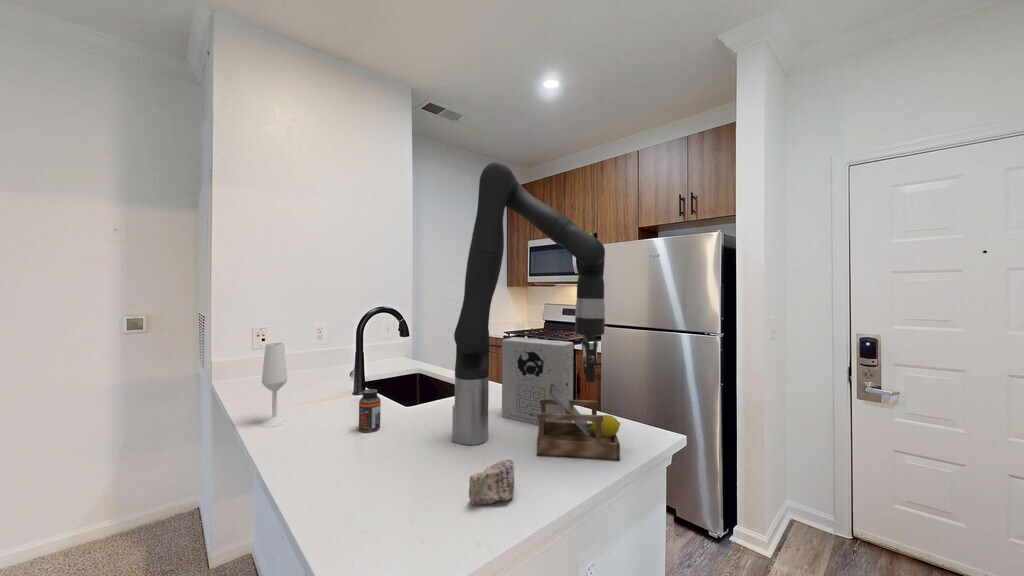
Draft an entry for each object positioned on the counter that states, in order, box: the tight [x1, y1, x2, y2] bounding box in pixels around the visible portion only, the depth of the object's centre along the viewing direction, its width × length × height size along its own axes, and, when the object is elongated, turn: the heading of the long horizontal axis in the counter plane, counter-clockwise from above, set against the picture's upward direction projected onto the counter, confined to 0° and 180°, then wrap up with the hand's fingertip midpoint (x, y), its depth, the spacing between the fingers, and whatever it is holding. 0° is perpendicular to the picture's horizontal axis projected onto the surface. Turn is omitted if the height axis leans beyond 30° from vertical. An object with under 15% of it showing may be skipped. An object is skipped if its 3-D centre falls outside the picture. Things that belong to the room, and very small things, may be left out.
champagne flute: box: [261, 342, 288, 428], centre depth 120 cm, size 7×7×24 cm
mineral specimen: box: [468, 458, 515, 506], centre depth 79 cm, size 13×7×6 cm, turn 148°
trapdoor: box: [550, 383, 590, 437], centre depth 104 cm, size 14×10×2 cm
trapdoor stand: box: [536, 399, 621, 462], centre depth 103 cm, size 20×14×10 cm
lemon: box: [589, 414, 621, 438], centre depth 102 cm, size 6×6×8 cm
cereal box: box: [501, 336, 574, 426], centre depth 124 cm, size 22×8×25 cm, turn 58°
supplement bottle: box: [358, 388, 382, 433], centre depth 115 cm, size 6×6×11 cm
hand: (588, 378), depth 103 cm, fingers open, 8 cm apart
